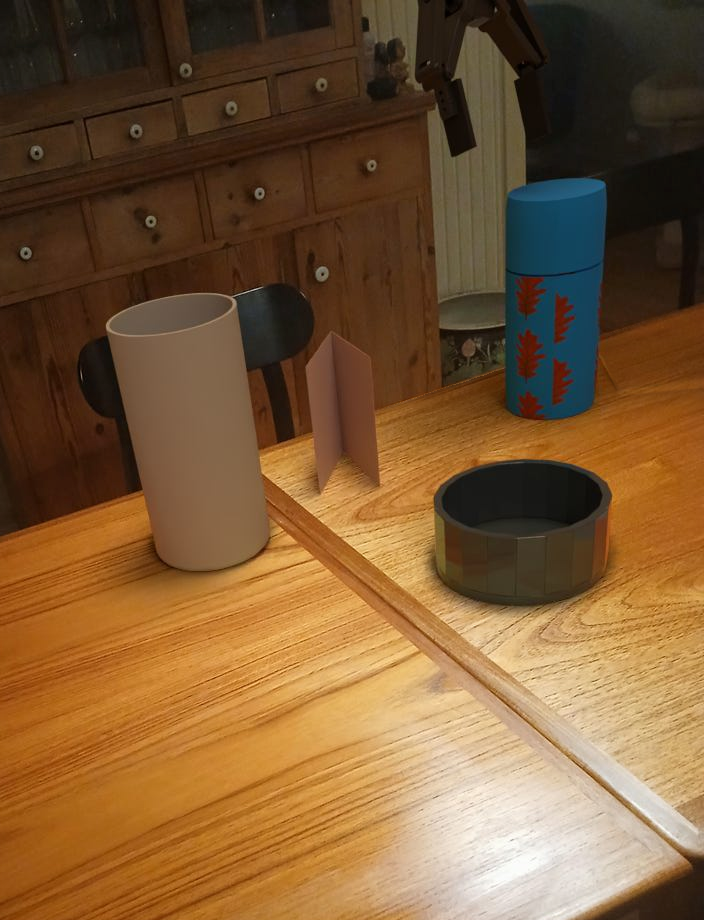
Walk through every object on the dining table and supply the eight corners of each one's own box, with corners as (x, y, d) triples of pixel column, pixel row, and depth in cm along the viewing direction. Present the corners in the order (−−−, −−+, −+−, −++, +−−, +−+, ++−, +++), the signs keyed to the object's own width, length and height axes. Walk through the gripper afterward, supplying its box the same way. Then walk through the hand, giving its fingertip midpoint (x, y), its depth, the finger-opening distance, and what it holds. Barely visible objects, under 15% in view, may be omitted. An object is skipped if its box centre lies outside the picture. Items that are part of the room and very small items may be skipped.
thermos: (541, 380, 130) (546, 176, 116) (613, 396, 122) (628, 179, 108) (486, 409, 125) (485, 199, 111) (557, 426, 117) (565, 204, 103)
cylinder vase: (167, 586, 101) (113, 346, 87) (149, 533, 111) (99, 311, 97) (284, 556, 102) (249, 315, 88) (256, 507, 112) (221, 285, 98)
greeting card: (335, 451, 121) (323, 331, 113) (395, 451, 119) (387, 327, 111) (312, 494, 113) (297, 367, 104) (376, 494, 110) (366, 364, 102)
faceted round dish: (590, 516, 99) (594, 452, 95) (622, 600, 86) (627, 530, 82) (432, 528, 102) (429, 467, 98) (440, 611, 89) (438, 544, 85)
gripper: (496, -55, 108) (539, 145, 114) (343, -56, 95) (400, 172, 100) (555, -95, 102) (598, 119, 108) (401, -102, 89) (459, 143, 94)
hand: (503, 145), depth 104 cm, fingers open, 13 cm apart
